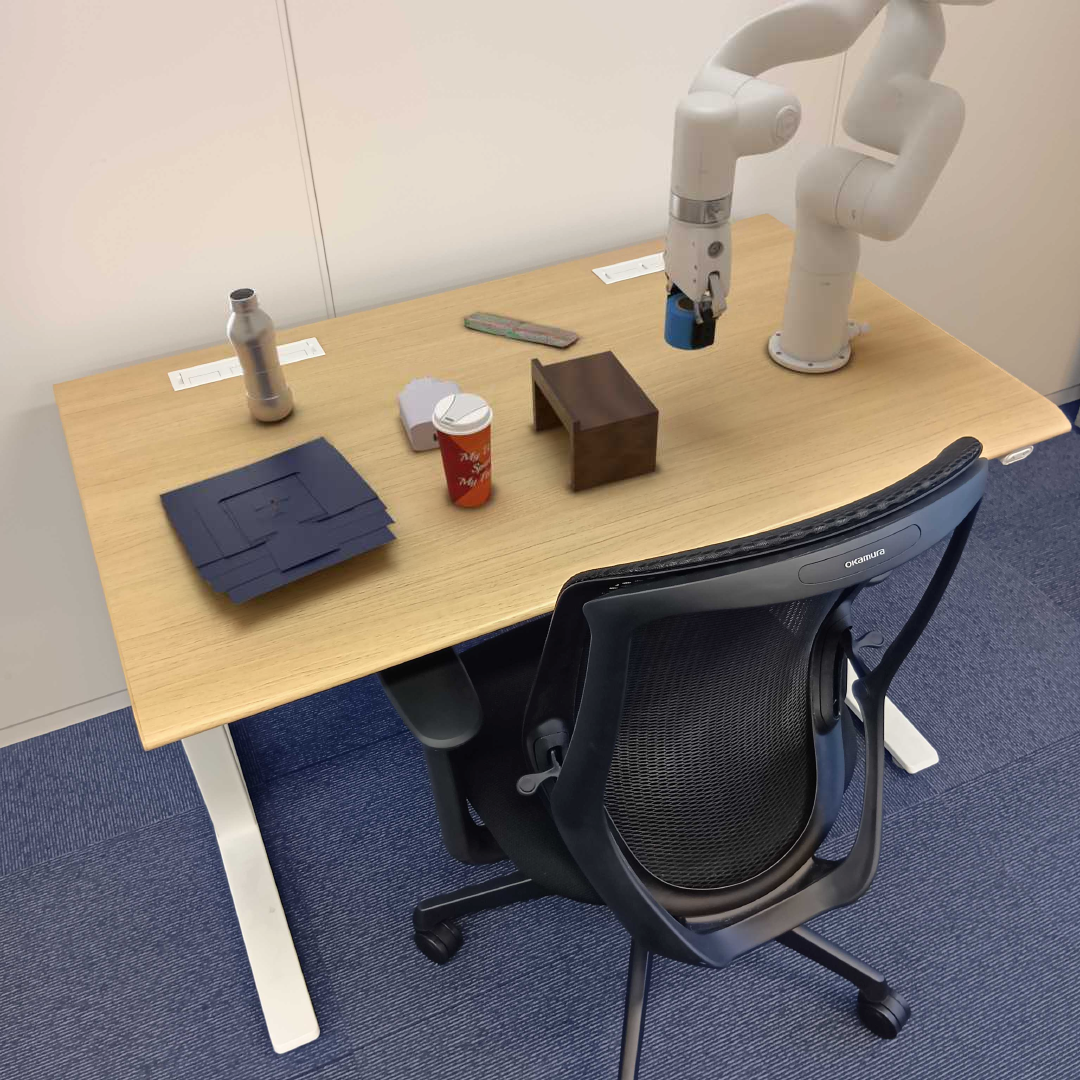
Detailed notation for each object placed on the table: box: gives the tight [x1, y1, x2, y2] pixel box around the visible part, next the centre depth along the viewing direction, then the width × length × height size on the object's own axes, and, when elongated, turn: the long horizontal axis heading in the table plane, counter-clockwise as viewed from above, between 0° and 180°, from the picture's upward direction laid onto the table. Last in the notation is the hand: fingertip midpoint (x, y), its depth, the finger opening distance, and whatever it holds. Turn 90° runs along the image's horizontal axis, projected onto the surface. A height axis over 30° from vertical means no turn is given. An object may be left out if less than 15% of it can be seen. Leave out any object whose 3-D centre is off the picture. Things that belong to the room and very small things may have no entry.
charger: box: [397, 374, 464, 452], centre depth 144 cm, size 5×9×15 cm
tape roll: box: [663, 292, 710, 351], centre depth 130 cm, size 7×7×5 cm
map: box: [463, 311, 580, 348], centre depth 162 cm, size 5×20×1 cm, turn 64°
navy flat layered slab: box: [159, 436, 398, 606], centre depth 127 cm, size 24×30×4 cm
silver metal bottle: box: [226, 287, 294, 423], centre depth 141 cm, size 6×7×20 cm
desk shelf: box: [530, 350, 660, 493], centre depth 135 cm, size 12×16×12 cm
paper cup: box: [432, 393, 494, 508], centre depth 127 cm, size 8×8×14 cm
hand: (689, 331), depth 131 cm, fingers closed on tape roll, 6 cm apart
